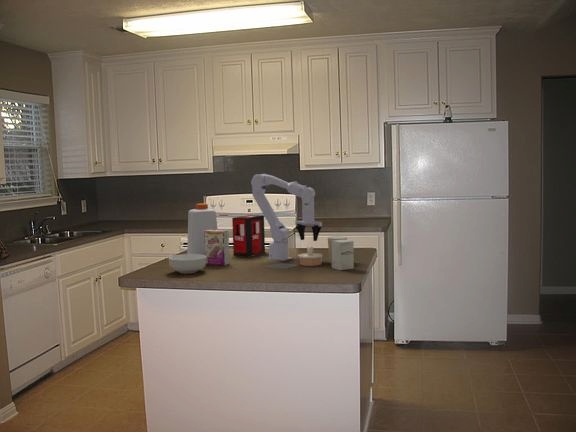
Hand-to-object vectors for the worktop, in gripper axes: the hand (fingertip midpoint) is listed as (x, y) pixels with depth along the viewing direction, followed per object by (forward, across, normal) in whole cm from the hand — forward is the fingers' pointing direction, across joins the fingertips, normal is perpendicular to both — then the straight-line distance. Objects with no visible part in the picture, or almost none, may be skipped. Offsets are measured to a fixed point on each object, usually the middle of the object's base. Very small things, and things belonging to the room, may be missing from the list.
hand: (308, 240), depth 279 cm
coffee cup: (+10, +15, +2) cm, 18 cm away
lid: (+6, +7, -9) cm, 13 cm away
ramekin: (+10, +7, -9) cm, 15 cm away
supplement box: (+10, +25, -10) cm, 29 cm away
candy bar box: (+10, -33, -30) cm, 46 cm away
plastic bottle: (+10, -51, -21) cm, 56 cm away
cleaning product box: (+10, -39, +1) cm, 40 cm away
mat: (+10, -2, -20) cm, 22 cm away
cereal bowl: (+10, -31, -51) cm, 61 cm away
